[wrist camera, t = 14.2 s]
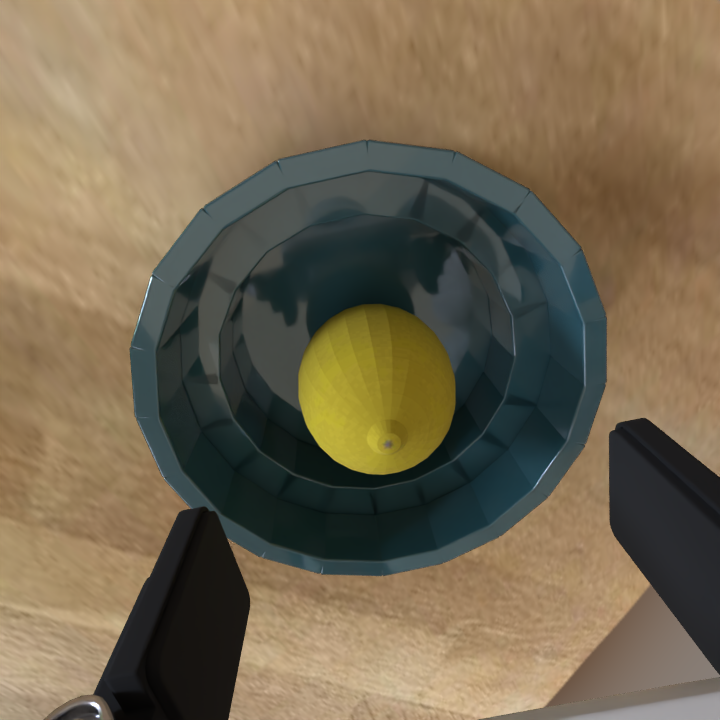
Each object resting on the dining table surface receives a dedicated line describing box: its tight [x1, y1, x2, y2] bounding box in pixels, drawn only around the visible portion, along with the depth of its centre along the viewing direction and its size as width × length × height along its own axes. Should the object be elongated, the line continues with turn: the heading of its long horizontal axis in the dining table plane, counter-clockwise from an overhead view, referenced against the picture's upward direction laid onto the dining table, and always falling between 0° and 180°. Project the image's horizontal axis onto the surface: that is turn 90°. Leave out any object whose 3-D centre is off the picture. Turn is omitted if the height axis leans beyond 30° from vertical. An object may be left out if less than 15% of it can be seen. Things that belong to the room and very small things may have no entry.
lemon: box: [298, 304, 455, 475], centre depth 17 cm, size 6×6×8 cm
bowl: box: [130, 140, 607, 576], centre depth 19 cm, size 16×16×6 cm
